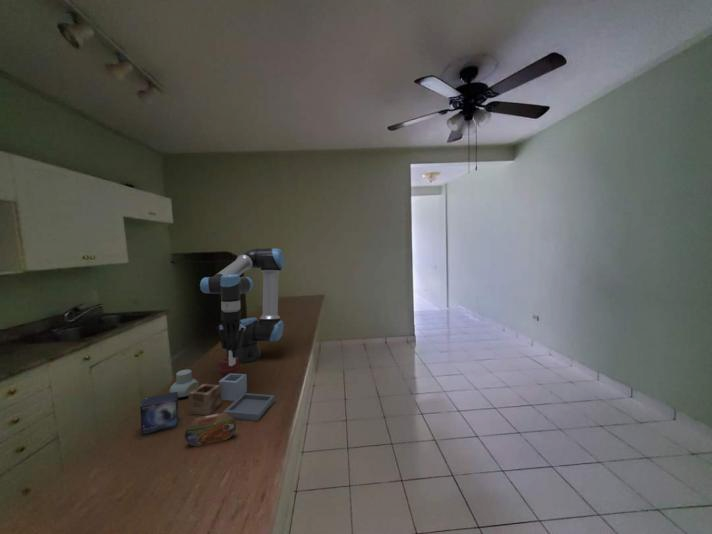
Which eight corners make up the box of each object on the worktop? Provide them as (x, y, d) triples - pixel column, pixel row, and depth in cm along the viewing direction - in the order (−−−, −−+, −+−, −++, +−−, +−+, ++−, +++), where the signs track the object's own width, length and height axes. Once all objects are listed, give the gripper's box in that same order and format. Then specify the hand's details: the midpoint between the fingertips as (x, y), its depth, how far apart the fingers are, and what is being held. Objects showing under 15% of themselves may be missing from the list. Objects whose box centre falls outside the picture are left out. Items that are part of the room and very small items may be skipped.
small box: (140, 436, 95) (139, 406, 94) (144, 426, 100) (143, 397, 100) (177, 427, 100) (176, 398, 99) (179, 418, 105) (178, 390, 105)
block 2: (230, 390, 126) (230, 373, 126) (246, 391, 125) (246, 374, 125) (219, 399, 118) (218, 381, 118) (236, 401, 117) (236, 382, 117)
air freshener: (186, 387, 129) (185, 366, 129) (202, 389, 128) (201, 367, 127) (166, 399, 119) (165, 376, 118) (182, 401, 117) (181, 378, 116)
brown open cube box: (203, 402, 116) (203, 383, 116) (221, 404, 115) (220, 385, 115) (189, 413, 108) (188, 393, 108) (208, 415, 107) (207, 394, 107)
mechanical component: (227, 389, 127) (213, 384, 132) (245, 380, 136) (231, 376, 141) (226, 362, 127) (212, 358, 131) (244, 355, 135) (230, 352, 140)
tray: (243, 398, 119) (243, 393, 119) (274, 401, 117) (274, 395, 117) (223, 418, 105) (223, 411, 105) (258, 421, 103) (258, 414, 103)
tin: (184, 448, 89) (183, 423, 88) (187, 442, 92) (186, 417, 91) (236, 438, 93) (235, 414, 93) (237, 433, 96) (236, 409, 96)
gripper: (211, 311, 117) (212, 367, 118) (240, 312, 115) (241, 369, 116) (222, 308, 124) (223, 360, 125) (249, 309, 122) (250, 362, 123)
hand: (232, 364), depth 121 cm, fingers closed
